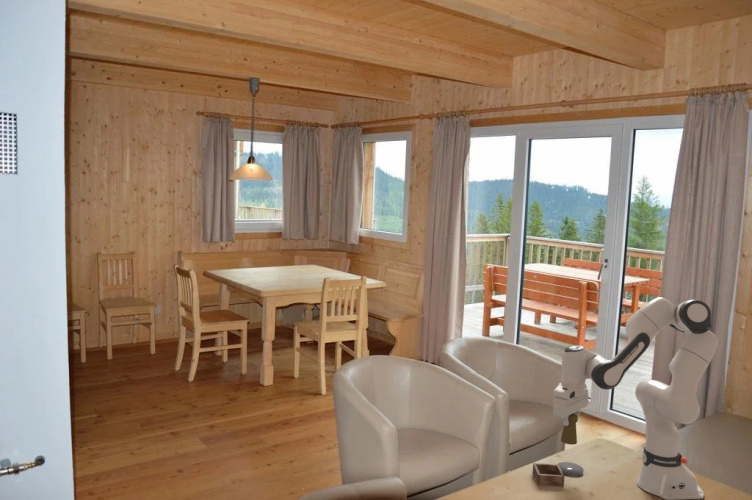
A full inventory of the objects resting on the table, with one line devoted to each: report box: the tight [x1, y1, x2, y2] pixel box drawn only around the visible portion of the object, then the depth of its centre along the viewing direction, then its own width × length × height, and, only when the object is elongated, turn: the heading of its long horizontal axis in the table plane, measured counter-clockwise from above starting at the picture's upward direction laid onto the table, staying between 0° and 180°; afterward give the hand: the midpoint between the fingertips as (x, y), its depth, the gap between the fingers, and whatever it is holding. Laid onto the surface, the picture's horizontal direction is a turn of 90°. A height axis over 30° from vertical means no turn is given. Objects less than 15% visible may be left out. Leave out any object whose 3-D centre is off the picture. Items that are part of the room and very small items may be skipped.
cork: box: [560, 413, 579, 445], centre depth 237 cm, size 6×6×11 cm
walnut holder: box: [532, 462, 566, 488], centre depth 234 cm, size 10×10×4 cm
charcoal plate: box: [557, 461, 585, 477], centre depth 242 cm, size 10×10×1 cm
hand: (570, 422), depth 237 cm, fingers closed on cork, 5 cm apart
